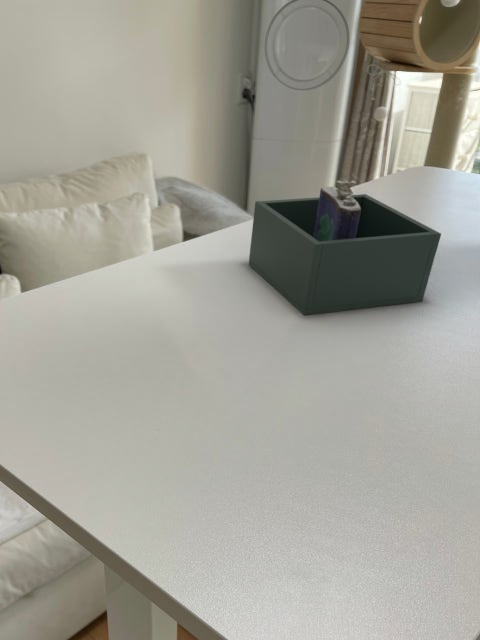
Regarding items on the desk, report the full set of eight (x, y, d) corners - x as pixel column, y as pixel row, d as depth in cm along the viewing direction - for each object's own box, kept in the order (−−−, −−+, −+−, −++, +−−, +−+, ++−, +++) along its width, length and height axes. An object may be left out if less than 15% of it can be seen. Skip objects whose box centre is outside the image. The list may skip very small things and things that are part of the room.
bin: (353, 254, 83) (365, 193, 79) (422, 301, 72) (441, 233, 67) (248, 264, 79) (255, 201, 75) (303, 315, 68) (315, 244, 64)
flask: (305, 260, 79) (320, 169, 73) (328, 260, 79) (346, 169, 73) (327, 291, 72) (347, 192, 65) (353, 291, 72) (375, 193, 66)
